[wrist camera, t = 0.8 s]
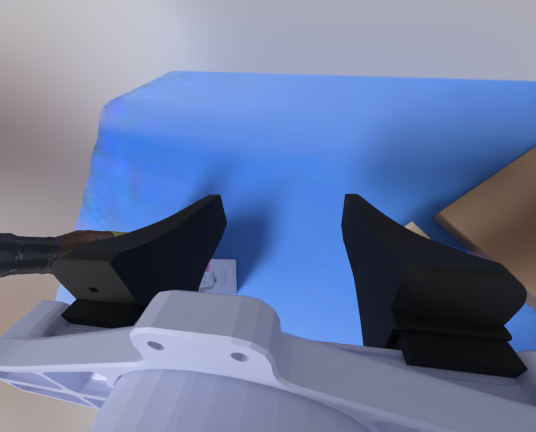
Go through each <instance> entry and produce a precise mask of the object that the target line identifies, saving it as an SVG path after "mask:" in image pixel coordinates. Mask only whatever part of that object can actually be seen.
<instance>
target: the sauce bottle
mask: <svg viewBox="0 0 536 432" xmlns="http://www.w3.org/2000/svg"><path fill="white" fill-rule="evenodd" d="M126 233H127V232H116V231H93V230H86V231H84V230H83V231H82V230H78V231H74V232H71V233H68V234H64V235H61V236H58V237H44V238H43V237H24V236H22V237H20V236H16V235H13V234H11V233H0V277H5V276H8V275H16V274H33V273H39V274H46V273H49V274H53V275H54V273H53V270H52V264H53V263H54V261H55V260H57V259H58V258H59V257H61V256H62V255H63V254H65V253H66V252H67V251H69V250H70V249H71V248H73V247H74V246H76V245H79V244H85V243H89V242H94V241H99V240H103V239H108V238H111V237H115V236H119V235H122V234H126Z"/></svg>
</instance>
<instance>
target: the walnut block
mask: <svg viewBox="0 0 536 432" xmlns="http://www.w3.org/2000/svg"><path fill="white" fill-rule="evenodd" d="M432 218H433V219H434V220H435V221H436V222H437V223H438V224H439V225H441V226H442V227H443V228H444V229H445V230H446V231H447V232H448V233H449V234H451V235H452V236H453V237H454V238H455V239H456V240H457V241H458V242H459V243H461V244H462V245H463V246H464V247H465V248H466V249H467V250H468V251H469V252H471V253H472V254H473V255H475V256H478V257H481V258H485V259H488V260H491V261H495V262H498V263H501V264H503V265H504V266H505V267H506V268H507V269H508V270H509V271H510V272H511V273H512V274H513V275H514V276H515V277H516V278H517V279H518V280H519V281H520V282H521V283H522V284H523V285H524V287H525V289H526V291H527V298H526V303H527V304H528V305H529V306H531V307H532V308H533V309H534V310H535V311H536V147H534V148H533V149H531V150H530V151H528V152H527V153H525V154H524V155H522V156H521V157H519V158H518V159H517V160H515V161H514V162H512V163H511V164H509V165H508V166H506V167H505V168H503V169H502V170H500V171H499V172H497V173H496V174H494V175H493V176H492V177H490V178H489V179H487V180H486V181H484V182H483V183H481V184H480V185H478V186H477V187H475V188H474V189H472V190H471V191H470V192H468V193H467V194H465V195H464V196H462V197H461V198H459V199H458V200H456V201H455V202H453V203H452V204H450V205H449V206H448V207H446V208H445V209H443V210H442V211H440V212H439V213H437V214H436V215H435V216H434V217H432Z"/></svg>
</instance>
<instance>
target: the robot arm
mask: <svg viewBox="0 0 536 432" xmlns="http://www.w3.org/2000/svg"><path fill="white" fill-rule="evenodd" d="M226 224H227V221H226V216H225V212H224V208H223V204H222V200H221V196H220V195H209V196H207V197H205V198H203V199H201V200H199V201H197V202H196V203H194V204H192V205H190V206H189V207H187V208H185V209H183V210H181V211H179V212H177V213H176V214H174V215H172V216H170V217H168V218H166V219H164V220H161V221H159V222H157V223H154V224H152V225H149V226H147V227H144V228H141V229H138V230H135V231H132V232H129V233H126V234H122V235H119V236H115V237H111V238H108V239H103V240H99V241H94V242H89V243H85V244H79V245H76V246H74V247H73V248H71V249H70V250H69V251H67V252H66V253H65V254H63V255H62V256H61V257H59V258H58V259H57V260H55V261H54V263H53V264H52V270H53V273H54V275H55V277H56V278H57V279H58V280H59V282H60V283H61V284H62V285H63V286H64V287H65V288H66V289H67V290H68V291H69V292H70V293H71V294H72V295H73V296H74V297H75V298H76V300H75V301H74V302H73V303H72V304H71V305H69V304H67V303H64V302H56V301H47V300H44V301H41V302H39V303H38V304H37V305H36V306H35V307H34V308H33V309H31V310H30V311H29V312H28V313H27V314H26V315H25V316H23V317H22V318H21V319H20V320H19V321H17V323H15V324H14V325H13V326H12V327H11V328H10V329H8V330H7V331H6V332H5V333H4V334H2V335H1V336H0V380H2V381H4V382H6V383H8V384H9V385H12V386H14V387H16V388H18V389H20V390H22V391H25V392H30V393H34V394H39V395H44V396H48V397H52V398H56V399H60V400H64V401H68V402H71V403H75V404H79V405H83V406H86V407H90V408H93V409H97V410H100V411H99V412H98V414H97V416H96V417H95V419H94V421H93V422H92V424H91V426H90V427H89V429H88V430H87V432H536V351H533V350H525V351H520V352H517V353H516V352H515V351H514V350H513V348H512V347H511V346H510V344H509V343H508V342H507V341H510V340H512V336H511V334H510V333H509V332H508V331H507V329H506V328H505V327H504V325H505V324H506V323H507V322H508V321H509V320H510V319H511V318H512V317H513V316H514V315H515V314H516V313H517V312H518V311H519V310H520V309H521V307H522V306H523V305H524V303H525V302H526V298H527V291H526V289H525V287H524V285H523V284H522V283H521V282H520V281H519V280H518V279H517V278H516V277H515V276H514V275H513V274H512V273H511V272H510V271H509V270H508V269H507V268H506V267H505V266H504V265H503V264H501V263H498V262H495V261H491V260H488V259H485V258H481V257H478V256H475V255H471V254H468V253H465V252H462V251H459V250H456V249H453V248H451V247H448V246H445V245H443V244H440V243H437V242H435V241H433V240H430V239H428V238H426V237H424V236H421V235H419V234H417V233H415V232H413V231H411V230H409V229H407V228H406V227H404V226H402V225H400V224H398V223H397V222H395V221H393V220H392V219H390V218H389V217H387V216H386V215H384V214H383V213H382V212H380V211H379V210H377V209H376V208H375V207H373V206H372V205H371V204H370V203H368V202H367V201H366V200H365V199H363V198H362V197H361V196H359V195H358V194H345V201H344V208H343V216H342V223H341V226H342V234H343V240H344V244H345V248H346V251H347V255H348V258H349V262H350V265H351V269H352V272H353V276H354V281H355V287H356V293H357V300H358V307H359V313H360V321H361V329H362V336H363V345H364V346H357V345H348V344H340V343H331V342H322V341H313V340H308V339H304V338H301V337H298V336H294V335H291V334H287V333H284V332H282V331H281V325H280V319H279V317H278V315H277V313H276V312H275V310H274V309H273V308H272V307H271V306H269V305H268V304H266V303H265V302H263V301H262V300H260V299H256V298H252V297H248V296H243V295H231V294H219V293H206V292H198V290H199V287H200V284H201V281H202V279H203V276H204V273H205V271H206V268H207V266H208V264H209V262H210V260H211V258H212V256H213V254H214V252H215V250H216V248H217V246H218V244H219V242H220V240H221V238H222V236H223V233H224V230H225V227H226Z"/></svg>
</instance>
